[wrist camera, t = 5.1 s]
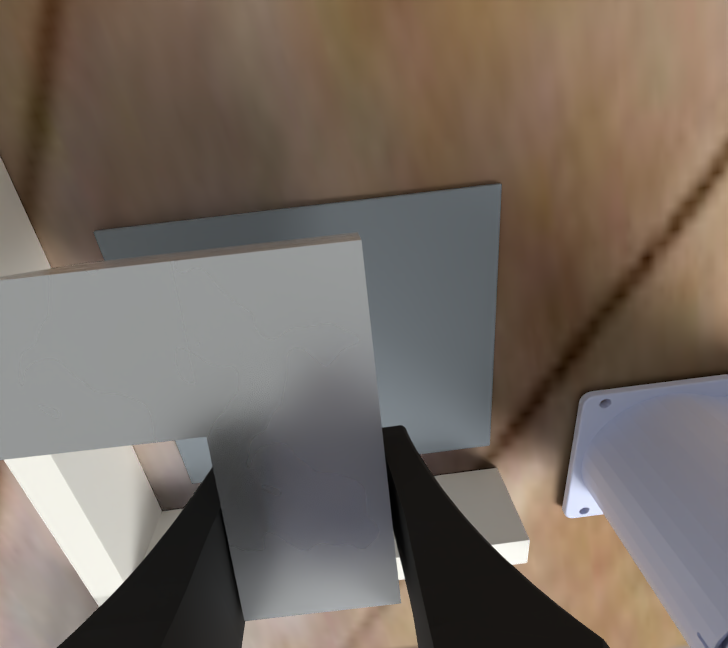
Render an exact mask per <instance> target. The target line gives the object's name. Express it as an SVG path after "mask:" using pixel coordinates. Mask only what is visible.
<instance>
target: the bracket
mask: <svg viewBox="0 0 728 648" xmlns="http://www.w3.org/2000/svg"><path fill="white" fill-rule="evenodd" d="M200 437H206V438H207V442H208V447H209V452H210V457H211V462H212V467H213V471H214V476H215V481H216V486H217V491H218V496H219V500H220V505H221V510H222V515H223V520H224V524H225V529H226V534H227V539H228V544H229V549H230V553H231V558H232V563H233V568H234V573H235V578H236V582H237V587H238V592H239V597H240V602H241V607H242V611H243V616H244V621H250V620H258V619H267V618H276V617H285V616H294V615H302V614H311V613H320V612H329V611H337V610H346V609H355V608H364V607H372V606H381V605H390V604H399V603H401V599H400V590H399V580H398V571H397V562H396V553H395V544H394V534H393V525H392V516H391V507H390V498H389V489H388V479H387V470H386V461H385V452H384V443H383V433H382V424H381V415H380V406H379V397H378V387H377V378H376V369H375V360H374V351H373V341H372V332H371V323H370V314H369V305H368V296H367V286H366V277H365V268H364V259H363V250H362V240H361V238H360V236H359V234H358V232H355V233H346V234H338V235H329V236H320V237H311V238H302V239H293V240H284V241H275V242H266V243H257V244H249V245H240V246H231V247H222V248H213V249H204V250H195V251H186V252H177V253H168V254H159V255H151V256H142V257H133V258H124V259H115V260H106V261H97V262H88V263H81V264H74V265H68V266H62V267H56V268H50V269H44V270H38V271H31V272H25V273H19V274H13V275H7V276H1V277H0V460H6V459H14V458H23V457H32V456H41V455H50V454H59V453H67V452H76V451H85V450H94V449H103V448H112V447H120V446H129V445H138V444H147V443H156V442H165V441H173V440H182V439H191V438H200Z"/></svg>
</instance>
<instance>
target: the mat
mask: <svg viewBox="0 0 728 648" xmlns="http://www.w3.org/2000/svg"><path fill="white" fill-rule="evenodd" d="M501 188H502V184H500V183H498V184H489V185H481V186H472V187H464V188H455V189H446V190H438V191H429V192H421V193H412V194H404V195H395V196H387V197H378V198H369V199H361V200H352V201H344V202H335V203H327V204H318V205H310V206H301V207H292V208H284V209H275V210H267V211H258V212H250V213H241V214H233V215H224V216H215V217H207V218H198V219H190V220H181V221H173V222H164V223H156V224H147V225H138V226H130V227H121V228H113V229H104V230H96V231H94V232H93V233H94V235H95V238H96V240H97V243H98V245H99V248H100V250H101V253H102V255H103V258H104V261H106V260H115V259H124V258H133V257H142V256H151V255H159V254H168V253H177V252H186V251H195V250H204V249H213V248H222V247H231V246H240V245H249V244H257V243H266V242H275V241H284V240H293V239H302V238H311V237H320V236H329V235H338V234H346V233H355V232H358V234H359V236H360V238H361V240H362V250H363V259H364V268H365V277H366V286H367V296H368V305H369V314H370V323H371V332H372V341H373V351H374V360H375V369H376V378H377V387H378V397H379V406H380V415H381V424H382V428H383V427H391V426H398V425H402V426H404V427H405V428H406V430H407V432H408V434H409V437H410V439H411V441H412V442H413V444H414V446H415V448H416V450H417V451H418V453H419V454H426V453H434V452H442V451H450V450H457V449H465V448H473V447H481V446H488V445H490V429H491V407H492V385H493V363H494V341H495V319H496V297H497V275H498V253H499V232H500V210H501ZM175 441H176V444H177V446H178V449H179V452H180V454H181V457H182V459H183V462H184V464H185V467H186V469H187V472H188V474H189V477H190V480H191V482H192V484H193V483H201V482H202V481H203V480H204V478H205V477H206V475H207V474H208V472H209V471H210V469H211V468H212V462H211V457H210V452H209V447H208V442H207V438H206V437H200V438H191V439H182V440H175Z"/></svg>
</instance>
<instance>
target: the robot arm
mask: <svg viewBox="0 0 728 648" xmlns="http://www.w3.org/2000/svg"><path fill="white" fill-rule="evenodd" d="M604 399H605V400H604ZM602 400H604V401H603V402H601V401H602ZM600 402H601V403H600ZM382 433H383V443H384V452H385V461H386V470H387V479H388V489H389V498H390V507H391V516H392V525H393V532H394V536H395V540H396V544H397V548H398V552H399V557H400V561H401V565H402V569H403V573H404V577H405V581H406V585H407V590H408V594H409V598H410V602H411V607H412V612H413V617H414V623H415V629H416V635H417V642H418V648H610V647H609V646H608V645H607V643H606V642H605V641H604V639H602V638H601V637H600V636H598V635H597V634H596V633H594V632H593V631H592V630H590V629H589V628H587V627H586V626H585V625H583V624H582V623H581V622H579V621H578V620H577V619H575V618H574V617H573V616H572V615H570V614H569V613H568V612H566V611H565V610H564V609H563V608H561V607H560V606H559V605H557V604H556V603H555V602H554V601H553V600H551V599H550V598H549V597H548V596H547V595H545V594H544V593H543V592H542V591H541V590H539V589H538V588H537V587H536V586H535V585H533V584H532V583H531V582H530V581H529V580H528V579H527V578H526V577H525V576H524V575H522V574H521V573H520V572H519V571H518V570H517V569H516V568H515V567H514V566H513V565H511V564H510V563H509V562H508V561H507V560H506V559H505V558H504V557H503V556H502V555H501V554H500V553H499V552H498V551H497V550H496V549H495V548H494V547H493V546H492V545H491V544H490V543H489V542H488V541H487V540H486V539H485V538H484V537H483V536H482V535H481V534H480V533H479V532H478V531H477V529H476V528H475V527H474V526H473V525H472V524H471V523H470V522H469V521H468V519H467V518H466V517H465V516H464V515H463V514H462V512H461V511H460V510H459V509H458V508H457V506H456V505H455V504H454V503H453V501H452V500H451V499H450V498H449V496H448V495H447V494H446V492H445V491H444V490H443V488H442V487H441V486H440V484H439V483H438V482H437V480H436V479H435V477H434V476H433V474H432V473H431V472H430V470H429V469H428V467H427V466H426V464H425V463H424V461H423V460H422V458H421V456H420V455H419V453H418V451H417V450H416V448H415V446H414V444H413V442H412V441H411V439H410V437H409V434H408V432H407V430H406V428H405V427H404V426H402V425H398V426H391V427H383V428H382ZM562 510H563V512H564V514H565V515H566V516H567V517H569V518H578V517H585V516H593V515H600V514H604V515H605V517H606V518H607V520H608V522H609V523H610V525H611V526H612V528H613V529H614V531H615V532H616V534H617V535H618V537H619V538H620V540H621V542H622V543H623V545H624V546H625V548H626V549H627V551H628V552H629V554H630V555H631V557H632V558H633V560H634V562H635V563H636V565H637V566H638V568H639V569H640V571H641V572H642V574H643V575H644V577H645V579H646V580H647V582H648V583H649V585H650V586H651V588H652V589H653V591H654V592H655V594H656V595H657V597H658V599H659V600H660V602H661V603H662V605H663V606H664V608H665V609H666V611H667V612H668V614H669V615H670V617H671V619H672V620H673V622H674V623H675V625H676V626H677V628H678V629H679V631H680V632H681V634H682V635H683V637H684V639H685V640H686V642H687V643H688V645H689V646H690V648H728V374H724V375H716V376H708V377H700V378H692V379H684V380H677V381H669V382H661V383H653V384H645V385H637V386H629V387H621V388H613V389H605V390H598V391H591V392H587V393H586V394H584V395H583V396H582V397H581V399H580V401H579V407H578V413H577V419H576V425H575V431H574V438H573V444H572V450H571V456H570V462H569V469H568V475H567V481H566V487H565V493H564V500H563V506H562ZM244 626H245V621H244V616H243V611H242V607H241V602H240V597H239V592H238V587H237V582H236V578H235V573H234V568H233V563H232V558H231V553H230V549H229V544H228V539H227V534H226V529H225V524H224V520H223V515H222V510H221V505H220V500H219V496H218V491H217V486H216V481H215V476H214V471H213V467H212V468H211V469H210V471H209V472H208V474H207V475H206V477H205V478H204V480H203V481H202V483H201V484H200V486H199V487H198V489H197V490H196V492H195V493H194V495H193V496H192V497H191V499H190V500H189V502H188V503H187V504H186V506H185V507H184V509H183V510H182V511H181V513H180V514H179V515H178V517H177V518H176V520H175V521H174V522H173V523H172V525H171V526H170V527H169V529H168V530H167V531H166V532H165V534H164V535H163V536H162V537H161V539H160V540H159V541H158V543H157V544H156V545H155V546H154V548H153V549H152V550H151V551H150V552H149V554H148V555H147V556H146V557H145V558H144V560H143V561H142V562H141V563H140V564H139V565H138V567H137V568H136V569H135V570H134V571H133V572H132V573H131V574H130V576H129V577H128V578H127V579H126V580H125V581H124V582H123V583H122V584H121V586H120V587H119V588H118V589H117V590H116V591H115V592H114V593H113V594H112V595H111V596H110V597H109V598H108V599H107V600H106V601H105V602H104V603H103V604H102V605H101V606H100V607H99V608H98V609H97V610H96V611H95V612H94V613H93V614H92V615H91V616H90V617H89V618H88V619H87V620H86V621H85V622H84V623H83V624H82V625H81V626H80V627H79V628H78V629H77V630H76V631H75V632H74V633H72V634H71V635H70V636H69V637H68V638H67V639H66V640H65V641H64V642H63V643H62V644H60V645H59V646H58V647H57V648H242V640H243V633H244Z"/></svg>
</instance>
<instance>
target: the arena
mask: <svg viewBox="0 0 728 648" xmlns="http://www.w3.org/2000/svg"><path fill="white" fill-rule="evenodd" d="M50 268H51V267H50V264H49V262H48V260H47V258H46V256H45V253H44V251H43V249H42V247H41V245H40V242H39V240H38V238H37V236H36V234H35V232H34V229H33V227H32V225H31V223H30V221H29V218H28V216H27V214H26V212H25V210H24V207H23V205H22V203H21V201H20V199H19V196H18V194H17V192H16V190H15V188H14V185H13V183H12V181H11V179H10V177H9V174H8V172H7V170H6V168H5V166H4V164H3V161H2V159H1V157H0V277H1V276H7V275H13V274H19V273H25V272H31V271H38V270H44V269H50ZM4 461H5V463H6V464H7V466H8V467H9V469H10V470H11V472H12V473H13V475H14V476H15V478H16V479H17V481H18V483H19V484H20V486H21V487H22V489H23V490H24V492H25V493H26V495H27V496H28V498H29V499H30V501H31V503H32V504H33V506H34V507H35V509H36V510H37V512H38V513H39V515H40V516H41V518H42V520H43V521H44V523H45V524H46V526H47V527H48V529H49V530H50V532H51V533H52V535H53V536H54V538H55V540H56V541H57V543H58V544H59V546H60V547H61V549H62V550H63V552H64V553H65V555H66V557H67V558H68V560H69V561H70V563H71V564H72V566H73V567H74V569H75V570H76V572H77V573H78V575H79V577H80V578H81V580H82V581H83V583H84V584H85V586H86V587H87V589H88V590H89V592H90V594H91V595H92V597H93V598H94V600H95V601H96V603H97V604H98V606H99V607H100V606H101V605H102V604H103V603H104V602H105V601H106V600H107V599H108V598H109V597H110V596H111V595H112V594H113V593H114V592H115V591H116V590H117V589H118V588H119V587H120V586H121V584H122V583H123V582H124V581H125V580H126V579H127V578H128V577H129V576H130V574H131V573H132V572H133V571H134V570H135V569H136V568H137V567H138V565H139V564H140V563H141V562H142V561H143V560H144V558H145V557H146V556H147V555H148V554H149V552H150V551H151V550H152V549H153V548H154V546H155V545H156V544H157V543H158V541H159V540H160V539H161V537H162V536H163V535H164V534H165V532H166V531H167V530H168V529H169V527H170V526H171V525H172V523H173V522H174V521H175V520H176V518H177V517H178V515H179V514H180V513H181V511H182V510H183V509H184V508H183V509H175V510H168V511H162V510H161V508H160V506H159V503H158V501H157V499H156V497H155V495H154V493H153V490H152V488H151V486H150V484H149V482H148V479H147V477H146V475H145V473H144V471H143V468H142V466H141V464H140V462H139V460H138V457H137V455H136V453H135V451H134V449H133V446H132V445H129V446H120V447H112V448H103V449H94V450H85V451H76V452H67V453H59V454H50V455H41V456H32V457H23V458H14V459H6V460H4ZM434 477H435V479H436V480H437V482H438V483H439V484H440V486H441V487H442V488H443V490H444V491H445V492H446V494H447V495H448V496H449V498H450V499H451V500H452V501H453V503H454V504H455V505H456V506H457V508H458V509H459V510H460V511H461V512H462V514H463V515H464V516H465V517H466V518H467V519H468V521H469V522H470V523H471V524H472V525H473V526H474V527H475V528H476V529H477V531H478V532H479V533H480V534H481V535H482V536H483V537H484V538H485V539H486V540H487V541H488V542H489V543H490V544H491V545H492V546H493V547H494V548H495V549H496V550H497V551H498V552H499V553H500V554H501V555H502V556H503V557H504V558H505V559H506V560H507V561H508V562H509V563H510V564H511V565H513V564H521V563H527V559H528V550H529V542H530V540H529V537H528V535H527V533H526V531H525V528H524V526H523V524H522V522H521V520H520V517H519V515H518V513H517V511H516V508H515V506H514V504H513V502H512V500H511V497H510V495H509V493H508V491H507V488H506V486H505V484H504V482H503V479H502V477H501V475H500V473H499V471H498V468H492V469H484V470H476V471H469V472H461V473H453V474H445V475H438V476H434ZM393 534H394V532H393ZM394 544H395V553H396V562H397V571H398V580H401V579H405V577H404V573H403V569H402V565H401V561H400V557H399V552H398V548H397V544H396V540H395V536H394Z"/></svg>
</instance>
